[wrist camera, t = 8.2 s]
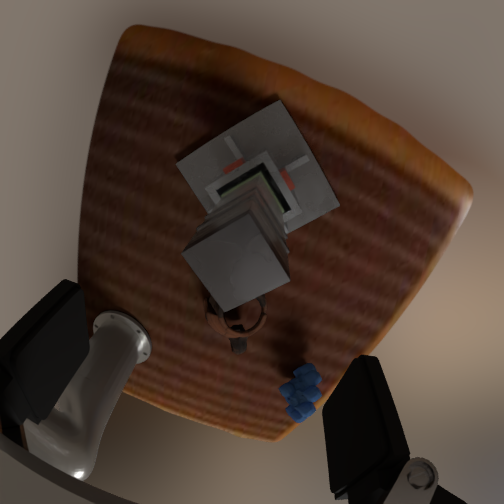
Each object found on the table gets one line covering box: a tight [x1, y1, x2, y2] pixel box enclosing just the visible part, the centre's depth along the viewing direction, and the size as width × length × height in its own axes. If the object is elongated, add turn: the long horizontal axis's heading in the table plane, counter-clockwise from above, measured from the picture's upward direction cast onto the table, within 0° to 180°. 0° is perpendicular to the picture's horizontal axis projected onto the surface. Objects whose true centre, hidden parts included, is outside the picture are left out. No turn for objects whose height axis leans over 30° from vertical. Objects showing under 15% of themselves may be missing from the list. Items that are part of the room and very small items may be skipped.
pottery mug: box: [204, 294, 267, 354], centre depth 44 cm, size 12×10×8 cm
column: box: [181, 168, 290, 312], centre depth 23 cm, size 4×4×19 cm
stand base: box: [176, 100, 340, 234], centre depth 33 cm, size 16×16×11 cm
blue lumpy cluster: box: [279, 363, 322, 423], centre depth 46 cm, size 12×7×12 cm, turn 164°
